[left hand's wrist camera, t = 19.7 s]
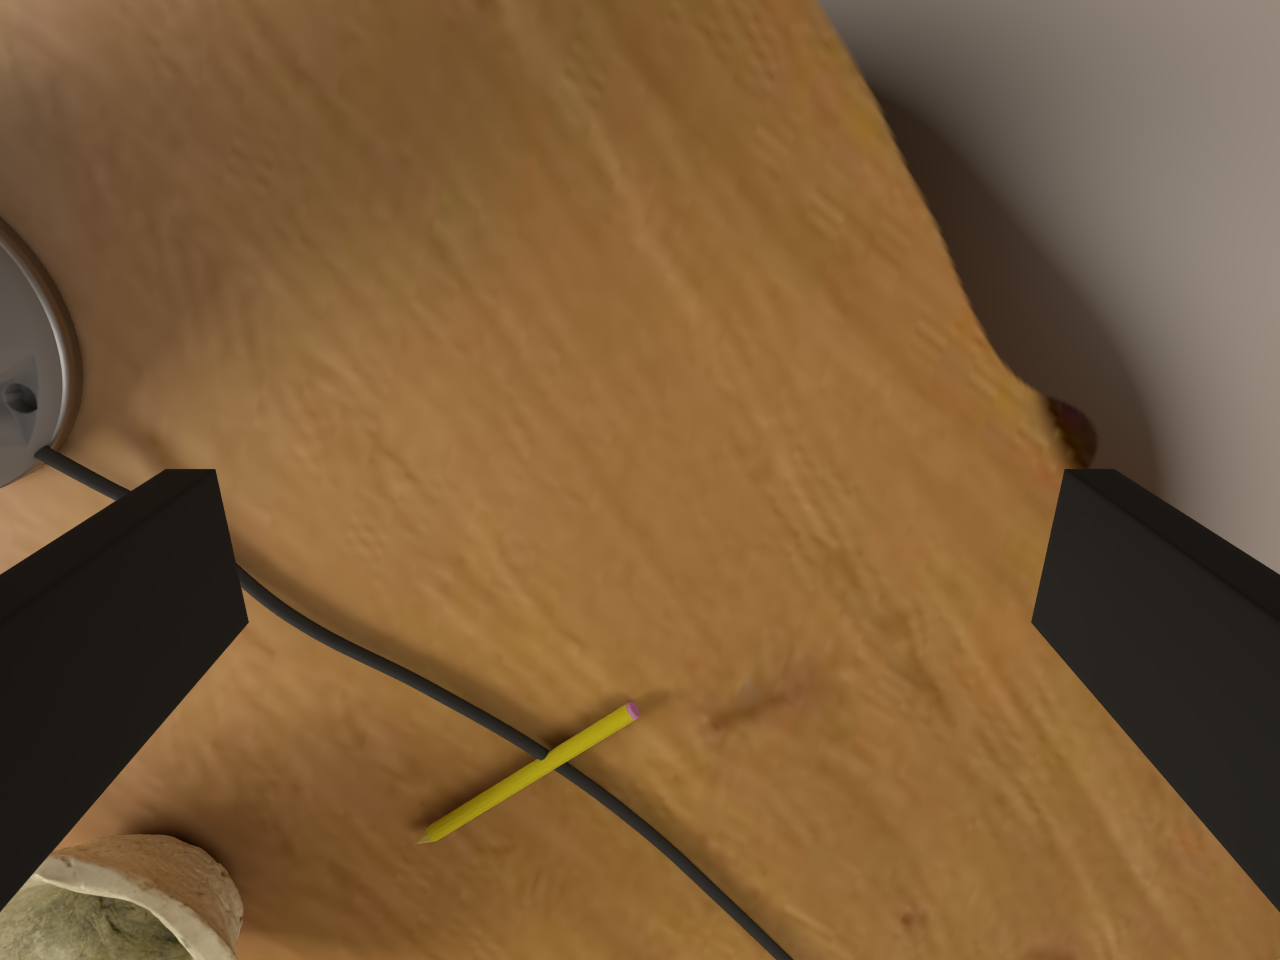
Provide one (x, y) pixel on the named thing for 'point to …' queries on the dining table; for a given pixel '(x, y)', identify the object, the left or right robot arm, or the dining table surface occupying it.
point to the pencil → (531, 772)
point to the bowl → (124, 904)
